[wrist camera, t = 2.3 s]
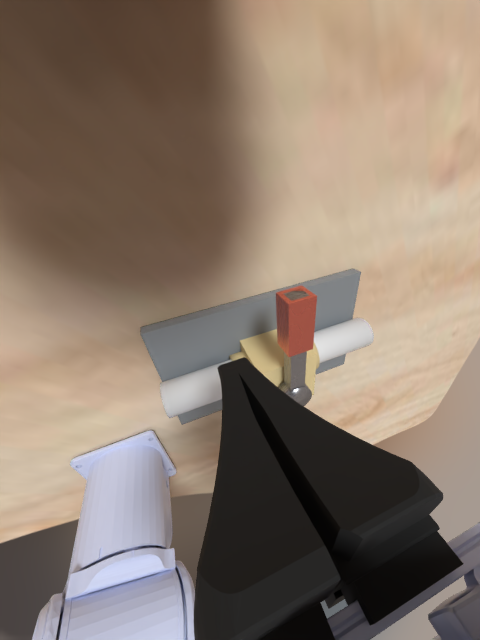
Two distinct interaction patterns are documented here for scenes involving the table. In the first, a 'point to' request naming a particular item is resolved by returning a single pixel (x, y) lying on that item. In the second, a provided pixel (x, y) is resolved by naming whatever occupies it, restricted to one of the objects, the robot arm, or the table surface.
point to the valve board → (238, 324)
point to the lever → (296, 338)
